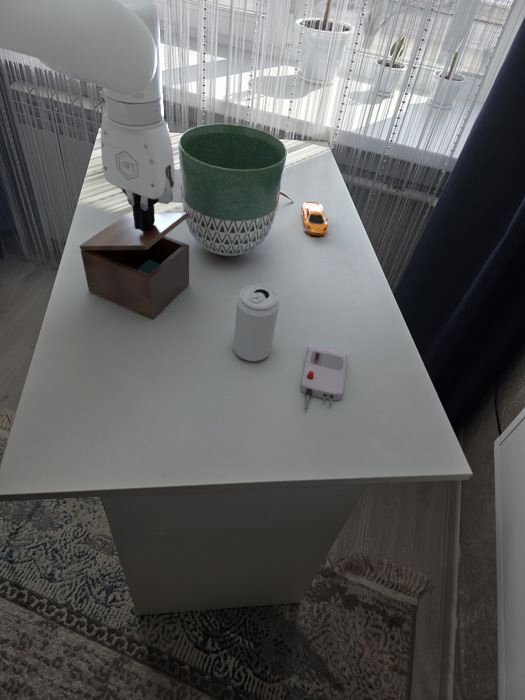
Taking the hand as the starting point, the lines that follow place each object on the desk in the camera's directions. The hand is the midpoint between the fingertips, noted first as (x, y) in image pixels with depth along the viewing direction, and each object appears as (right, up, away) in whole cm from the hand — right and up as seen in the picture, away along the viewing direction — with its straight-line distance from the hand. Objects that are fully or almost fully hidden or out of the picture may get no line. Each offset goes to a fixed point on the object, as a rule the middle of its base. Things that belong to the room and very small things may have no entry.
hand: (144, 226), depth 76 cm
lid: (-2, -1, +2) cm, 3 cm away
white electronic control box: (+29, -25, 0) cm, 38 cm away
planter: (+12, +1, +23) cm, 26 cm away
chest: (-3, -9, +10) cm, 14 cm away
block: (-1, -9, +9) cm, 13 cm away
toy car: (+31, +9, +33) cm, 46 cm away
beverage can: (+17, -20, +3) cm, 27 cm away
